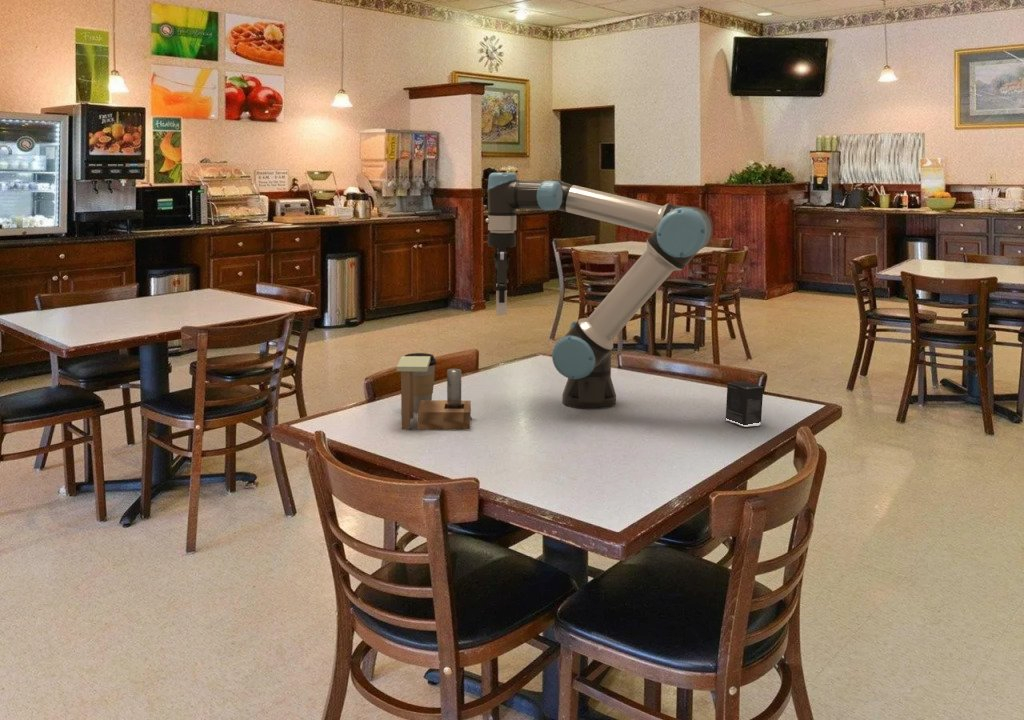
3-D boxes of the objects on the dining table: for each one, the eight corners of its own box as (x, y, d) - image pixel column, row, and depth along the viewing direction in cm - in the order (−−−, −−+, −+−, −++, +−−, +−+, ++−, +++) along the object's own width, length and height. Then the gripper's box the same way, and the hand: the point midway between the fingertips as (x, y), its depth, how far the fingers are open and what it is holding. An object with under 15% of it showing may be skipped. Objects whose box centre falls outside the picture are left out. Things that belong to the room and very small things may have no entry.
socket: (470, 417, 247) (470, 400, 246) (469, 429, 235) (469, 412, 234) (421, 416, 247) (421, 400, 246) (417, 429, 235) (417, 412, 234)
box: (761, 426, 241) (764, 386, 239) (743, 428, 239) (746, 388, 237) (741, 418, 248) (744, 380, 246) (724, 421, 246) (726, 381, 244)
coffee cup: (431, 415, 248) (430, 360, 245) (397, 413, 250) (396, 358, 247) (440, 406, 257) (440, 353, 254) (408, 404, 259) (407, 351, 256)
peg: (461, 421, 243) (461, 368, 240) (461, 425, 239) (461, 371, 237) (447, 421, 243) (447, 368, 240) (447, 425, 239) (446, 371, 236)
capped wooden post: (430, 416, 247) (430, 356, 244) (427, 429, 235) (426, 366, 231) (402, 416, 247) (401, 356, 244) (397, 429, 234) (396, 366, 231)
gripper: (487, 228, 260) (487, 304, 265) (487, 234, 236) (487, 318, 240) (514, 228, 261) (514, 304, 265) (517, 235, 236) (516, 318, 240)
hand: (501, 311), depth 253 cm, fingers open, 13 cm apart
